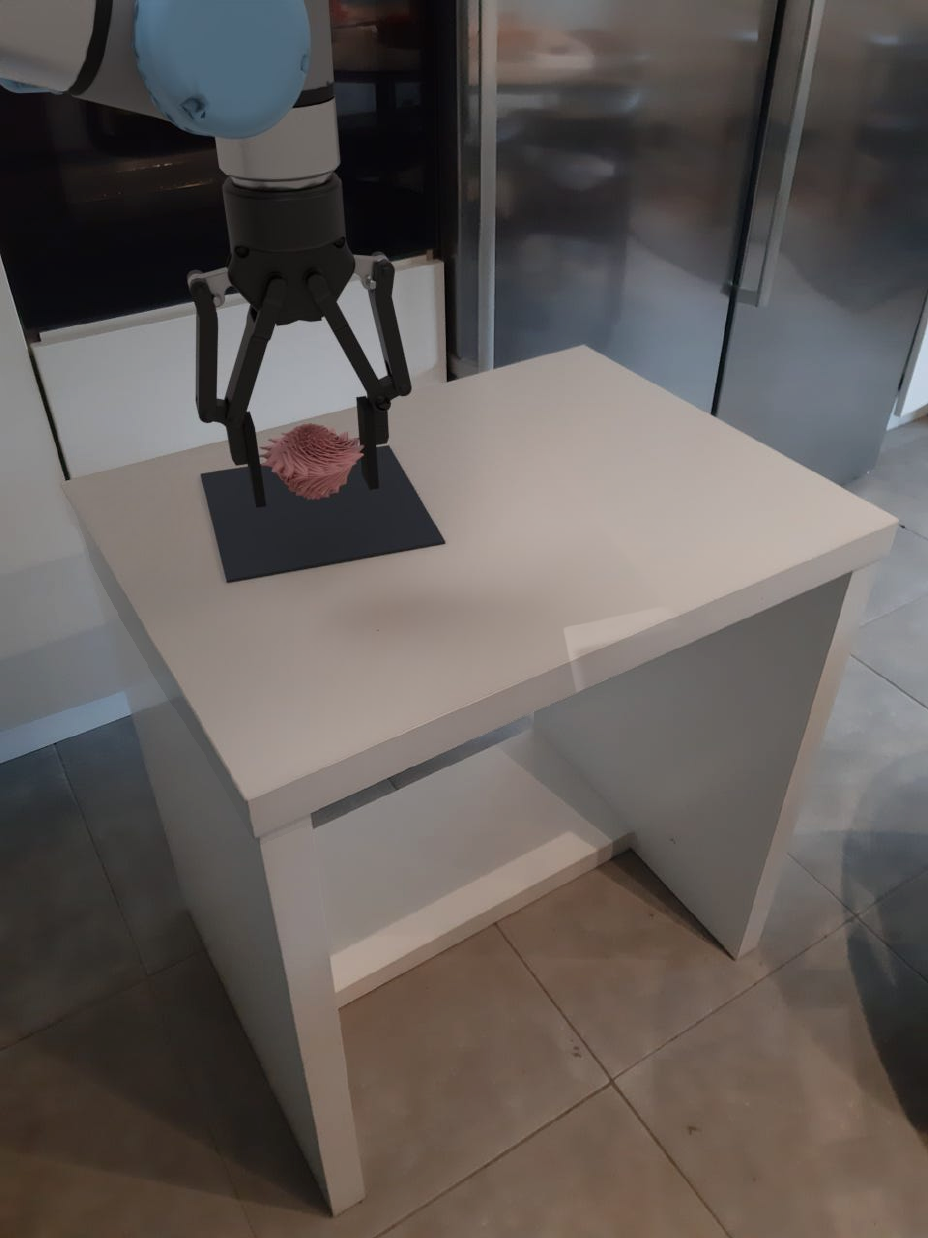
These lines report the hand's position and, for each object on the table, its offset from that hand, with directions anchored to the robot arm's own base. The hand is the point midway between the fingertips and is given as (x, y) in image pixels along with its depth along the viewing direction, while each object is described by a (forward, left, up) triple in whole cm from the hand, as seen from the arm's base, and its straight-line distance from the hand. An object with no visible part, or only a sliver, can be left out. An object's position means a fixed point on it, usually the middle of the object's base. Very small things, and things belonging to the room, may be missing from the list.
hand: (315, 489), depth 76 cm
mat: (+2, +16, -12) cm, 20 cm away
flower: (0, 0, 0) cm, 0 cm away
